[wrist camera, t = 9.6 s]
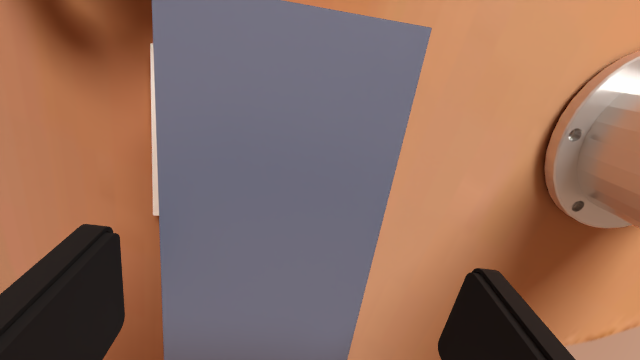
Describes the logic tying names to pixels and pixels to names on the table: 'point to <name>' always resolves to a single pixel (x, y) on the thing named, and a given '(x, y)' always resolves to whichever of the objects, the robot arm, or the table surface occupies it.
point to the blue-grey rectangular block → (274, 170)
